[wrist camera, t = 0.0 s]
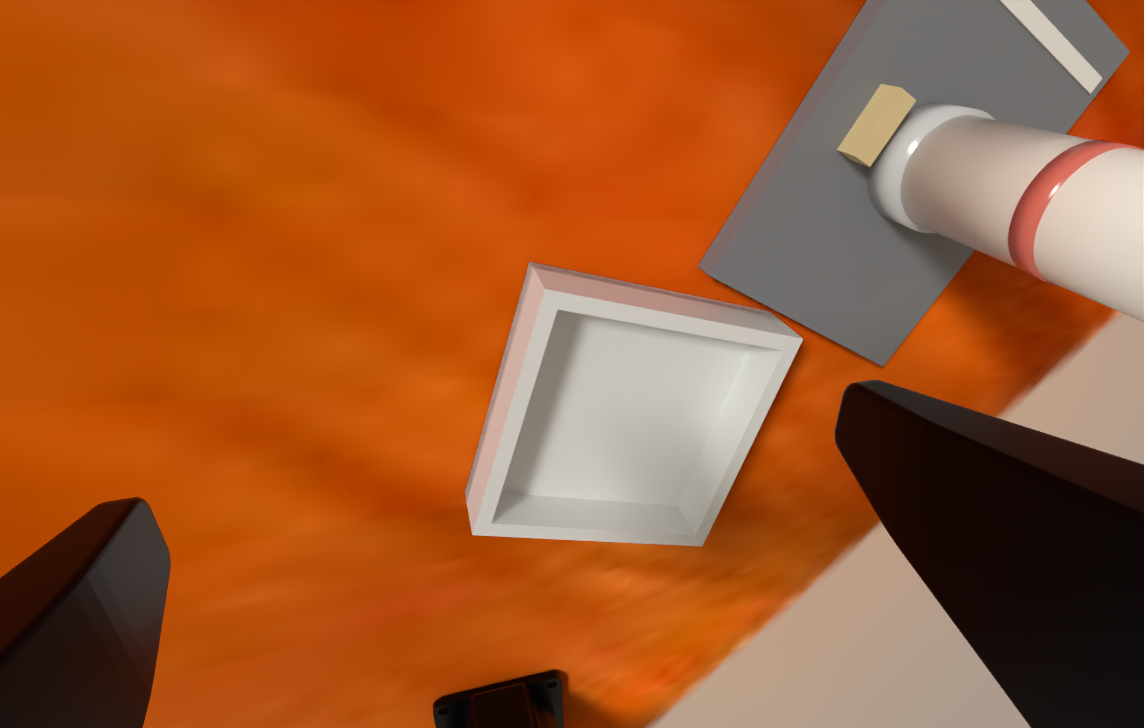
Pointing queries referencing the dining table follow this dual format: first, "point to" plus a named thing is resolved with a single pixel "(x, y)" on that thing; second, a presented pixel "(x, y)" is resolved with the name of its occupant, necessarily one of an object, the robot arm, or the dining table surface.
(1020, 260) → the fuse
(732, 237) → the panel
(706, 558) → the dining table surface
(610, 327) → the parts tray
